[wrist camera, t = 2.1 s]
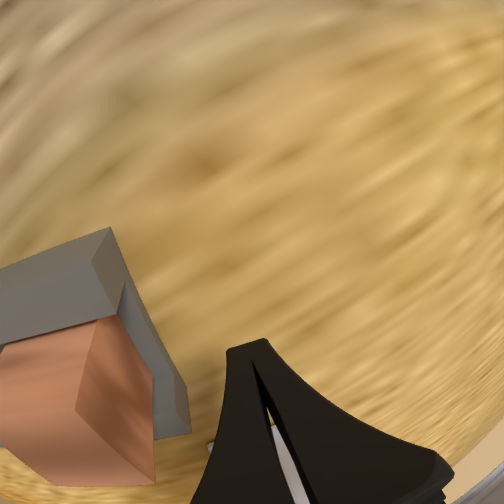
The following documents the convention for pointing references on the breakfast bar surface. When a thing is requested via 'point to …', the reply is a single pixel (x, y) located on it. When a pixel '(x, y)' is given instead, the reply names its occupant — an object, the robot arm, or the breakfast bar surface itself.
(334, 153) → the breakfast bar surface
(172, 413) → the chute
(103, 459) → the block
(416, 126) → the breakfast bar surface
